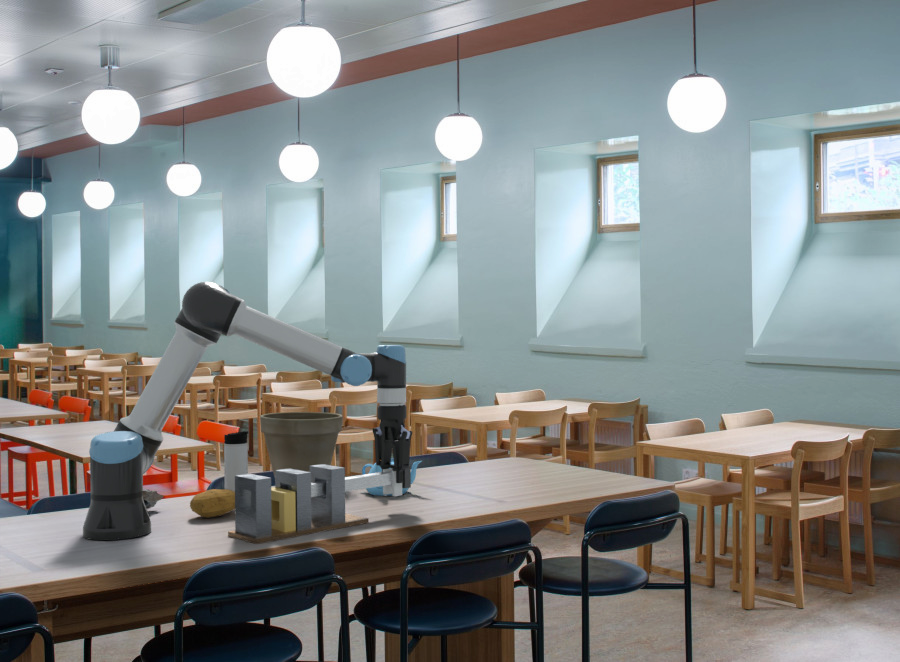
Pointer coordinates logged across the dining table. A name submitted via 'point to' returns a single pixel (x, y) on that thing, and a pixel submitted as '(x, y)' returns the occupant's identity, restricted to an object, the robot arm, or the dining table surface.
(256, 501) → the bearing rail
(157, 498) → the mineral specimen
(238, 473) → the travel mug
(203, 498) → the potato
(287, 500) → the spacer
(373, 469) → the teapot
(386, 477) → the shaft
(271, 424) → the plant pot
